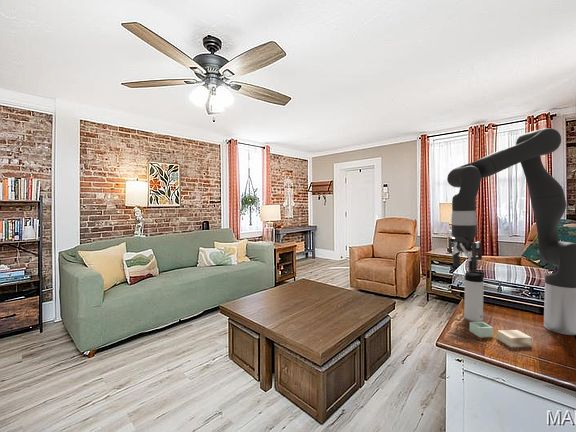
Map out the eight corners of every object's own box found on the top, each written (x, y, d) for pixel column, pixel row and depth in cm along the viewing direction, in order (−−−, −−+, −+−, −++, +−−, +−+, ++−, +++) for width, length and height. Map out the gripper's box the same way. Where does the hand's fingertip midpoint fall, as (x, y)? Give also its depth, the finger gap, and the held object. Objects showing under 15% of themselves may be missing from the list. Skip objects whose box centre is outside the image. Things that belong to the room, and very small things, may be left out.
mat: (516, 339, 96) (517, 337, 96) (534, 348, 90) (534, 347, 90) (494, 339, 96) (494, 338, 96) (510, 349, 89) (510, 347, 89)
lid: (516, 338, 96) (517, 329, 96) (531, 346, 90) (531, 337, 90) (497, 338, 95) (497, 330, 95) (510, 347, 90) (510, 338, 90)
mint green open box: (482, 332, 102) (482, 321, 102) (493, 338, 97) (493, 327, 97) (469, 332, 102) (469, 322, 101) (479, 339, 97) (479, 328, 96)
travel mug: (486, 324, 108) (487, 274, 107) (468, 323, 109) (469, 273, 109) (479, 317, 114) (480, 270, 113) (461, 316, 116) (462, 269, 115)
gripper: (489, 224, 90) (489, 273, 91) (461, 221, 104) (461, 264, 105) (467, 225, 90) (467, 274, 91) (441, 222, 104) (442, 264, 105)
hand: (464, 268), depth 98 cm, fingers open, 8 cm apart
